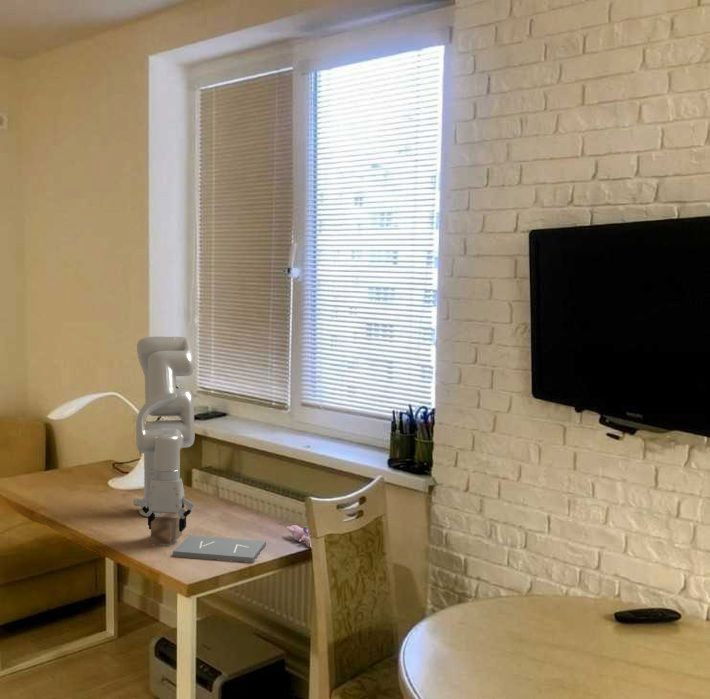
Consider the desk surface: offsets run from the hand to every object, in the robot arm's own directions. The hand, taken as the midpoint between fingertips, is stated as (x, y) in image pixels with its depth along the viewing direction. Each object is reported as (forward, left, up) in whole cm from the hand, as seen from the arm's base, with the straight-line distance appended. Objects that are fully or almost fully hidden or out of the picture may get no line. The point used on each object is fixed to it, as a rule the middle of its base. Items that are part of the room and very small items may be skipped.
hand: (167, 529), depth 239 cm
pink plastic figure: (+41, +7, -4) cm, 42 cm away
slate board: (+19, -6, -3) cm, 20 cm away
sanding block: (0, 0, -4) cm, 4 cm away
